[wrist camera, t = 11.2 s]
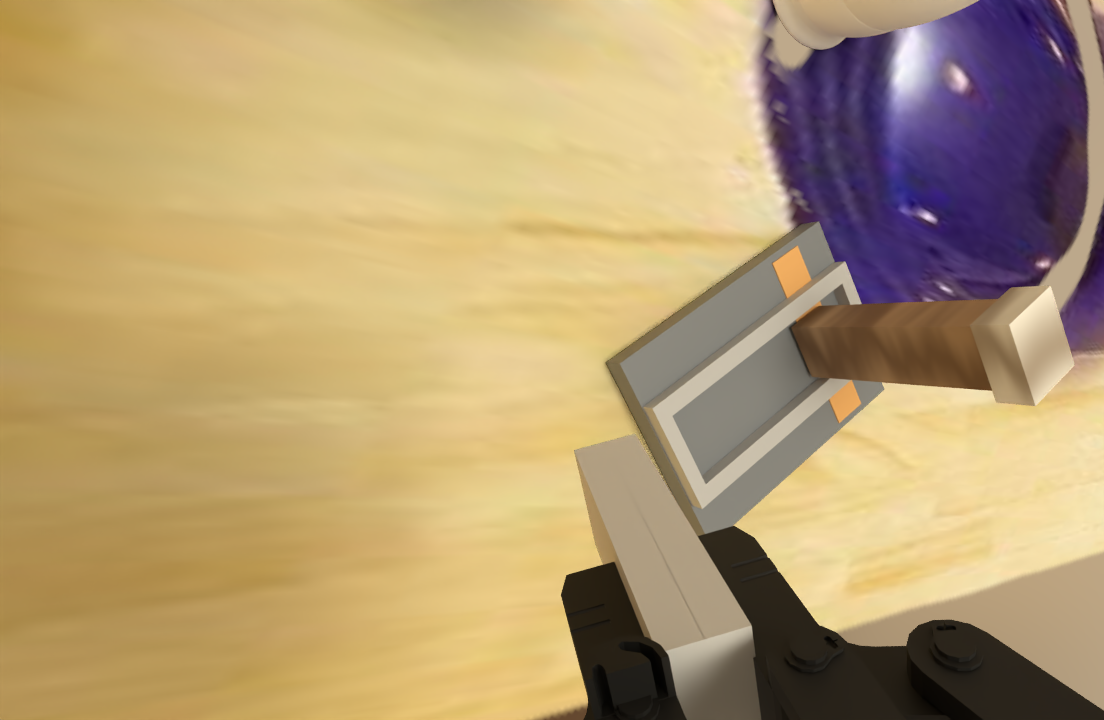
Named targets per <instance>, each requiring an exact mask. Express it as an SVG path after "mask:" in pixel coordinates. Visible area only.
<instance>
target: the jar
mask: <svg viewBox="0 0 1104 720" xmlns="http://www.w3.org/2000/svg"><path fill="white" fill-rule="evenodd" d="M977 1H979V0H773V3H774V6H775V9H776V12H777V14H778V16H779V19H780V21H781V22H782V24H783V26H784V27H785V28H786V30H787V31H788V32H789V34H790V35H791V36H792V37H793V38H794V39H795V40H797V41H798V42H799V43H801V44H802V45H804V46H806V47H809V48H812V49H818V50H823V49H828V48H831V47H834V46H836V45H837V44H839V43H840V42H842V41H843V40H844V39H845V38H846V37H850V38H858V37H868V36H874V35H879V34H883V33H887V32H890V31H893V30H896V29H902V28H908V27H913V26H917V25H921V24H924V23H928V22H931V21H934V20H937V19H939V18H942V17H945V16H947V15H950V14H952V13H954V12H957V11H959V10H961V9H963V8H965V7H967V6H969V5H971V4H973V3H975V2H977Z"/></svg>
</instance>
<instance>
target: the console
mask: <svg viewBox="0 0 1104 720" xmlns="http://www.w3.org/2000/svg"><path fill="white" fill-rule="evenodd" d="M854 304H861V301H860V299H859V296H858V293H857V291H856V288H855V286H854V283H853V281H852V278H851V275H850V273H849V270H848V268H847V265H846V262H834V259H833V257H832V254H831V252H830V249H829V247H828V244H827V241H826V239H825V236H824V234H823V231H822V229H821V226H820V223H819V221H818V222H812V223H807V224H801V225H800V226H798V227H797V228H796V229H794V230H793V231H791V232H790V233H788V234H787V235H786V236H784V237H783V238H781V239H780V240H779V241H777V242H776V243H774V244H773V245H771V246H770V247H769V248H767V249H766V250H764V251H763V252H762V253H760V254H759V255H757V256H756V257H755V258H753V259H752V260H750V261H749V262H747V263H746V264H745V265H743V266H742V267H740V268H739V269H738V270H736V271H735V272H733V273H732V274H730V275H729V276H728V277H726V278H725V279H723V280H722V281H721V282H719V283H718V284H716V285H715V286H714V287H712V288H711V289H709V290H708V291H706V292H705V293H704V294H702V295H701V296H699V297H698V298H697V299H695V300H694V301H692V302H691V303H689V304H688V305H687V306H685V307H684V308H682V309H681V310H680V311H678V312H677V313H675V314H674V315H672V316H671V317H670V318H668V319H667V320H665V321H664V322H663V323H661V324H660V325H658V326H657V327H656V328H654V329H653V330H651V331H650V332H648V333H647V334H646V335H644V336H643V337H641V338H640V339H639V340H637V341H636V342H634V343H633V344H631V345H630V346H629V347H627V348H626V349H624V350H623V351H622V352H620V353H619V354H617V355H616V356H615V357H613V358H612V359H610V360H609V361H607V362H606V364H607V366H608V368H609V370H610V372H611V374H612V376H613V377H614V379H615V381H616V383H617V385H618V387H619V389H620V391H621V393H622V395H623V397H624V399H625V401H626V403H627V405H628V407H629V409H630V411H631V413H632V415H633V417H634V419H635V421H636V423H637V425H638V427H639V429H640V431H641V433H642V435H643V437H644V439H645V441H646V443H647V445H648V446H649V448H650V450H651V452H652V454H653V456H654V458H655V460H656V462H657V464H658V466H659V468H660V470H661V472H662V474H663V476H664V478H665V480H666V482H667V484H668V486H669V488H670V490H671V492H672V494H673V496H674V498H675V500H676V502H677V504H678V505H679V507H680V509H681V510H682V512H683V513H684V515H685V517H686V518H687V520H688V522H689V523H690V525H691V527H692V528H693V530H694V532H695V533H696V535H697V536H700V535H703V534H707V533H710V532H714V531H717V530H721V529H724V528H728V527H731V526H733V525H734V524H735V523H736V522H737V521H739V520H740V519H741V518H742V517H743V516H744V515H745V514H746V513H747V512H749V511H750V510H751V509H752V508H753V507H754V506H755V505H756V504H758V503H759V502H760V501H761V500H762V499H763V498H764V497H765V496H766V495H768V494H769V493H770V492H771V491H772V490H773V489H774V488H775V487H776V486H778V485H779V484H780V483H781V482H782V481H783V480H784V479H785V478H786V477H788V476H789V475H790V474H791V473H792V472H793V471H794V470H795V469H796V468H798V467H799V466H800V465H801V464H802V463H803V462H804V461H805V460H806V459H808V458H809V457H810V456H811V455H812V454H813V453H814V452H815V451H816V450H818V449H819V448H820V447H821V446H822V445H823V444H824V443H825V442H826V441H828V440H829V439H830V438H831V437H832V436H833V435H834V434H835V433H836V432H838V431H839V430H840V429H841V428H842V427H843V426H844V425H845V424H846V423H848V422H849V421H850V420H851V419H852V418H853V417H854V416H855V415H856V414H858V413H859V412H860V411H861V410H862V409H863V408H864V407H865V406H866V405H868V404H869V403H870V402H871V401H872V400H873V399H874V398H875V397H877V396H878V395H879V394H880V393H881V392H882V391H883V390H884V387H883V385H882V382H872V381H858V380H845V379H832V378H819V377H812V376H811V374H810V371H809V369H808V367H807V364H806V362H805V359H804V357H803V355H802V352H801V350H800V348H799V345H798V343H797V340H796V338H795V336H794V333H793V331H792V329H791V327H792V326H794V325H795V324H796V323H797V322H799V321H800V320H801V319H803V318H804V317H805V316H806V315H808V314H809V313H810V312H812V311H813V310H814V309H815V308H817V307H818V306H827V305H854Z"/></svg>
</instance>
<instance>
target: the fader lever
mask: <svg viewBox="0 0 1104 720" xmlns="http://www.w3.org/2000/svg"><path fill="white" fill-rule="evenodd" d="M791 329H792V331H793V333H794V336H795V338H796V340H797V343H798V345H799V348H800V350H801V352H802V355H803V357H804V359H805V362H806V364H807V367H808V369H809V371H810V374H811V376H812V377H819V378H832V379H845V380H858V381H872V382H885V383H898V384H911V385H924V386H938V387H951V388H964V389H977V390H990V391H993V394H994V397H995V400H996V402H997V403H1008V404H1019V405H1030V406H1036V405H1037V404H1038V403H1039V402H1040V401H1041V400H1042V399H1043V398H1044V397H1045V396H1046V395H1047V393H1048V392H1049V391H1050V390H1051V389H1052V388H1053V387H1054V386H1055V385H1056V384H1057V383H1058V382H1059V381H1060V380H1061V379H1062V378H1063V377H1064V376H1065V375H1066V374H1067V372H1068V371H1069V370H1070V369H1071V368H1072V367H1073V366H1074V365H1075V364H1074V361H1073V358H1072V355H1071V351H1070V348H1069V345H1068V341H1067V338H1066V335H1065V331H1064V328H1063V325H1062V322H1061V318H1060V315H1059V312H1058V308H1057V305H1056V302H1055V299H1054V296H1053V292H1052V289H1051V286H1034V287H1015V288H1010V289H1009V290H1008V291H1007V292H1006V293H1004V294H1003V295H1002V296H1001V297H1000V298H999V299H987V300H961V301H934V302H907V303H881V304H854V305H827V306H818V307H817V308H815V309H814V310H813V311H812V312H810V313H809V314H808V315H806V316H805V317H804V318H803V319H801V320H800V321H799V322H797V323H796V324H795V325H794V326H792V327H791Z"/></svg>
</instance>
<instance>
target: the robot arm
mask: <svg viewBox="0 0 1104 720" xmlns="http://www.w3.org/2000/svg"><path fill="white" fill-rule="evenodd" d="M574 452H575V457H576V461H577V465H578V470H579V474H580V479H581V483H582V487H583V492H584V496H585V501H586V505H587V510H588V514H589V518H590V523H591V527H592V532H593V536H594V540H595V544H596V547H597V550H598V552H599V555H600V558H601V560H602V563H603V565H600V566H597V567H593V568H590V569H586V570H583V571H579V572H576V573H572V574H569V575H566V579H565V583H564V586H563V590H562V593H561V597H562V601H563V605H564V608H565V612H566V616H567V620H568V624H569V628H570V632H571V636H572V639H573V643H574V647H575V651H576V655H577V658H578V662H579V666H580V670H581V673H582V677H583V681H584V685H585V688H586V692H587V696H588V708H587V713H586V716H585V718H584V720H1104V711H1103V710H1102V709H1100V708H1099V707H1097V706H1096V705H1094V704H1093V703H1091V702H1090V701H1088V700H1087V699H1085V698H1084V697H1083V696H1081V695H1080V694H1078V693H1077V692H1075V691H1073V690H1072V689H1071V688H1069V687H1068V686H1066V685H1064V684H1063V683H1061V682H1060V681H1059V680H1057V679H1056V678H1054V677H1053V676H1051V675H1050V674H1048V673H1047V672H1045V671H1043V670H1042V669H1041V668H1039V667H1038V666H1036V665H1035V664H1033V663H1032V662H1030V661H1029V660H1027V659H1026V658H1024V657H1023V656H1021V655H1020V654H1018V653H1017V652H1015V651H1014V650H1012V649H1011V648H1009V647H1008V646H1006V645H1005V644H1003V643H1002V642H1000V641H999V640H997V639H996V638H994V637H993V636H991V635H990V634H988V633H987V632H985V631H983V630H981V629H979V628H977V627H975V626H973V625H971V624H968V623H963V622H959V621H954V620H932V621H929V622H927V623H924V624H921V625H918V626H917V628H915V629H914V630H913V631H912V632H911V633H910V634H909V637H908V641H907V645H906V646H891V647H889V646H886V647H871V646H859V645H855V644H851V643H847V642H846V641H845V640H844V639H843V638H842V637H841V636H840V635H839V634H838V633H836V632H834V631H832V630H829V629H827V628H825V627H823V626H819V625H818V623H817V622H816V621H815V620H814V618H813V617H812V616H811V614H810V613H809V612H808V610H807V609H806V608H805V606H804V605H803V603H802V602H801V601H800V599H799V598H798V597H797V595H796V594H795V592H794V591H793V590H792V588H791V587H790V586H789V584H788V583H787V582H786V580H785V579H784V577H783V576H782V575H781V573H780V572H778V571H777V568H776V567H775V565H774V564H773V562H772V561H771V560H770V558H768V557H767V554H766V553H765V552H764V550H763V549H762V547H761V546H760V545H759V543H758V542H757V541H756V539H755V538H754V537H752V536H751V535H749V534H747V533H745V532H744V531H742V530H740V529H739V528H737V527H735V526H731V527H728V528H724V529H721V530H717V531H714V532H710V533H707V534H703V535H700V536H697V535H696V533H695V532H694V530H693V528H692V527H691V525H690V523H689V522H688V520H687V518H686V517H685V515H684V513H683V512H682V510H681V509H680V507H679V505H678V504H677V502H676V500H675V499H674V497H673V495H672V494H671V492H670V490H669V489H668V487H667V485H666V484H665V482H664V481H663V479H662V477H661V476H660V474H659V472H658V471H657V469H656V467H655V466H654V464H653V462H652V461H651V459H650V457H649V456H648V454H647V453H646V451H645V449H644V448H643V446H642V444H641V443H640V441H639V439H638V438H637V436H636V434H632V435H628V436H625V437H621V438H617V439H614V440H610V441H606V442H602V443H599V444H595V445H591V446H588V447H584V448H580V449H577V450H574Z"/></svg>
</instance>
